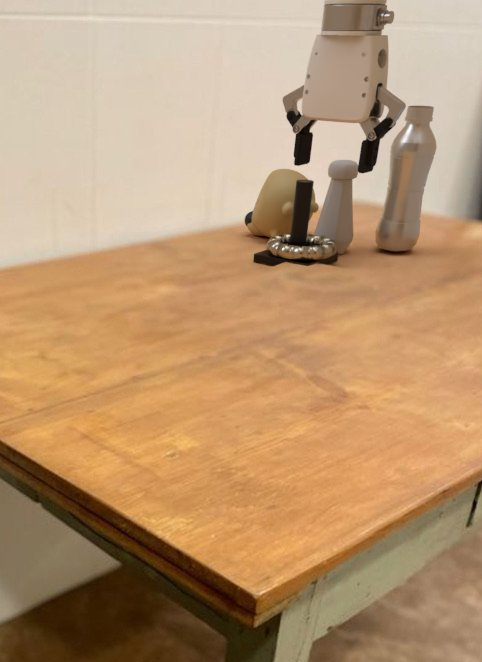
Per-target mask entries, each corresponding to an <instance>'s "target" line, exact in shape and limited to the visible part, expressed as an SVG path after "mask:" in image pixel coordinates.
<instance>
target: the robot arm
mask: <svg viewBox="0 0 482 662" xmlns="http://www.w3.org/2000/svg"><path fill="white" fill-rule="evenodd" d="M387 2H388V0H324V1H323V3H324V5H323V12H322V20H321V28H320V34H316V35H315V38H314V42H313V45H312V48H311V52H310V55H309V59H308V63H307V68H306V74H305V77H304V83H303V85H301V86H300V87H297V88H296V89H294V90H292V91H291V92H288V93H287V94H286V95H284V96H283V97H282V104H283V107H284V111H285V113H286V115H285V116H286V120H287V121H288V123H289V124H290V126H291V128H292V133H293V134H294V135H295V139H294V149H293V157H294V159H293V160H294V161H293V164H294V166H297V167H300V166H304V165H308V164H309V163H310V162H311V154H312V147H313V140H314V139H313V138H314V134H313V132H312V131H311V130H312V128H313V126H314V125H315V124H316V123H317V122H318V121H322V122H334V123H345V124H346V123H347V124H359V126H360V128H361V129H362V131H363V133H364V136H365V139H363V140H362V142H361V145H360V152H359V158H358V174H366V173H370V172H372V171H374V167H376V165H377V162H378V155H379V149H380V143H381V140H382V139H383V138H384V137H385V136H386V135H387V134H388V133H389V132H390V131H391V130H392V129H393V128H394V127H395V126H396V124H397V122H398V121H399V119H400V117H401V116H402V114H403V113H404V111H405V109H406V108H407V107H406V106H407V105H406V102H405V101H403V100H402V99H400V98H399V97H398V96H396V95H395V94H394V93H392V92H391V91H390V90H388V89H387V88H388V77H389V35H388V34H382V33H383V30H384V29H385V26H386V25H392V23H393V22H394V20H395V12H394V11H393V10H388V4H387ZM300 100H301V112H300V111H299V110H298V102H299V101H300ZM385 107H387V109H388V111H387V113H386V116H385V118H383V119H382V120H381V121H380V118H381V117H383V113H384V110H385ZM301 113H302V114H301Z"/></svg>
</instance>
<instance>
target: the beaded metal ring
mask: <svg viewBox="0 0 482 662" xmlns="http://www.w3.org/2000/svg"><path fill="white" fill-rule="evenodd" d="M289 241H290V234H280V235H277V236H274V237H271V238H270V237H269V238H268V240H267V243H266V247H265V250H267V251H268V253H270V254H272V255H274V256H276V257H278V258H283V259H288V260H297V261H315V260H323V259H326V258H329V257H332V256H333V255H334V254H335V253H336V243H335V241H334V240H332V239H329V238H327V237H325V236H320V235H315V234H313V233H307V239H306V246H294V245H289Z"/></svg>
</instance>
